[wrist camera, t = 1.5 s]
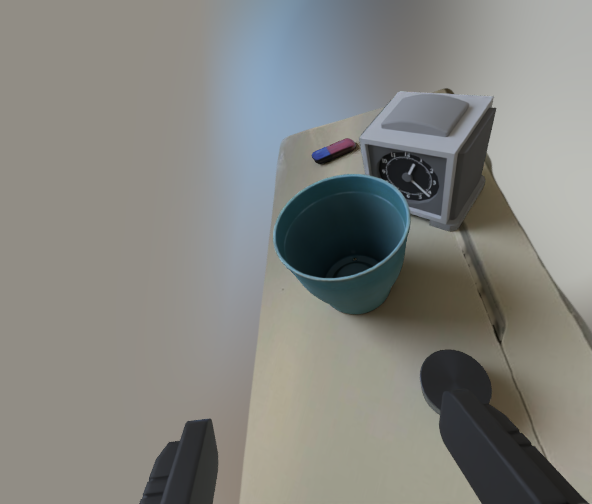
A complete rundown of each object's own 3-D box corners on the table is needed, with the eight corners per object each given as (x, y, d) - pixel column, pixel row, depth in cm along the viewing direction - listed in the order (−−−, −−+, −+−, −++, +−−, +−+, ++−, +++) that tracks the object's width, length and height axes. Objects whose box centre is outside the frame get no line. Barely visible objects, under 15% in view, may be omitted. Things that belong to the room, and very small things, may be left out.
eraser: (352, 141, 75) (351, 134, 73) (358, 148, 72) (357, 142, 71) (311, 158, 75) (309, 152, 74) (316, 166, 73) (314, 160, 71)
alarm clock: (363, 204, 61) (348, 126, 47) (395, 163, 65) (389, 80, 51) (455, 233, 51) (470, 144, 36) (486, 182, 54) (510, 84, 40)
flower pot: (359, 226, 58) (342, 157, 45) (436, 280, 47) (444, 209, 34) (289, 283, 56) (250, 228, 43) (353, 356, 44) (327, 311, 31)
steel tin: (493, 381, 37) (502, 372, 33) (469, 436, 35) (476, 433, 31) (434, 350, 41) (436, 338, 37) (409, 397, 39) (409, 389, 35)
